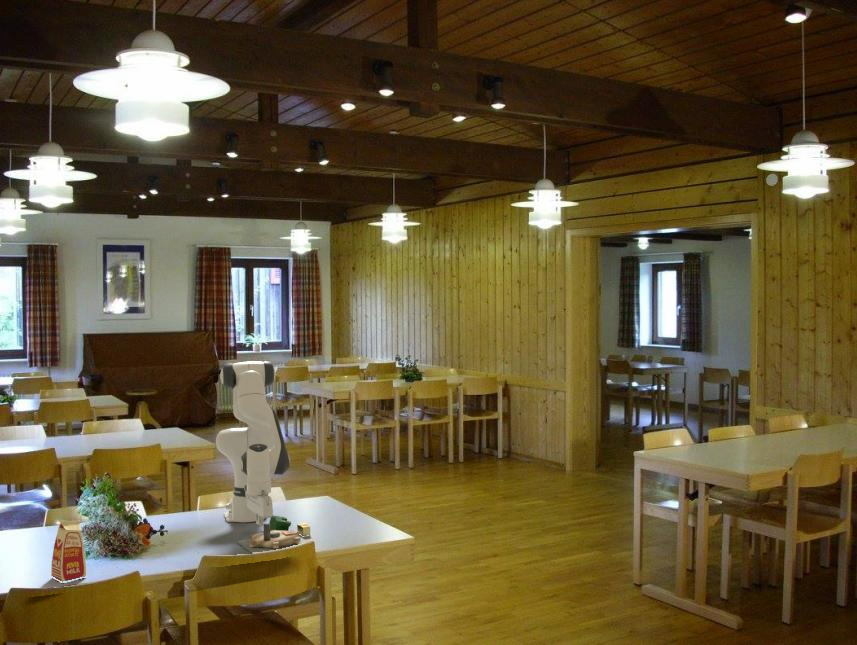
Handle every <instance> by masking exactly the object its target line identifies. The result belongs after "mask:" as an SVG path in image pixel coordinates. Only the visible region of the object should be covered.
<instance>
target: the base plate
mask: <svg viewBox="0 0 857 645" xmlns="http://www.w3.org/2000/svg"><path fill="white" fill-rule="evenodd" d="M299 537H300V540H301V542H300V543H294V544H291V545H288V546H283V547H279V548H265V547H257V546H255V547H251V546H250V541H252V540H249V538H246V539H238V540H236V542H238V543H237V544H239V545H240V546H241V545H242V546H241V547H243V548H244V549H245V550H247V551H249V553H251V552H263V551H270V550H276V549H282V548H286V547H290V546H293V545H298V544H302V543H304V542H307V541H308V540H306V539H305V538H304V537H302V536H299Z"/></svg>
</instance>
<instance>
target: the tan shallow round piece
mask: <svg viewBox="0 0 857 645" xmlns="http://www.w3.org/2000/svg"><path fill="white" fill-rule="evenodd" d="M269 523H270V522H269ZM269 523H268V522H267V523H263V531H261V532H258V533H251V534H250V535H249V536H248V539H249V540H252V541H250V546H251V547H255V546H257V547H265V548H279V547H283V546H288V545H291V544H294V543H300V542H301V540H300V537H301V536H300V535H299V532H298V531H297V530H293V529H292V530H288V531H283V530H278V531H276V530H271V531H270V524H269Z"/></svg>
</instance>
